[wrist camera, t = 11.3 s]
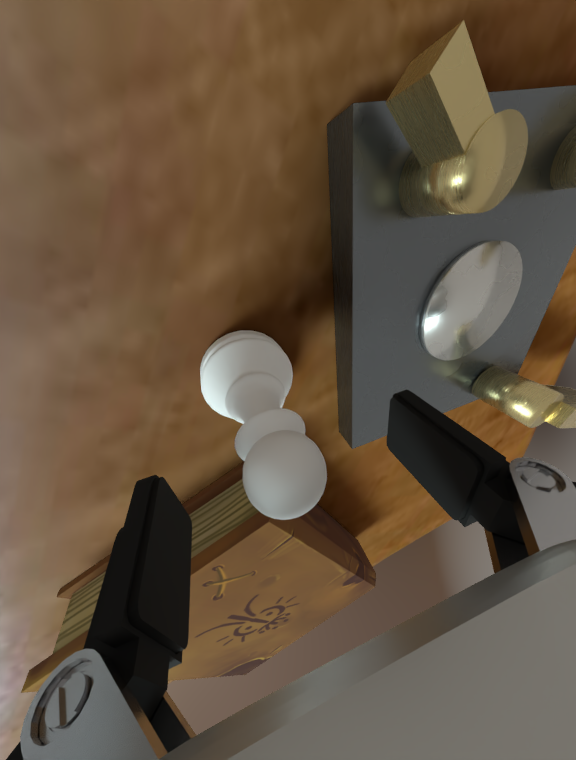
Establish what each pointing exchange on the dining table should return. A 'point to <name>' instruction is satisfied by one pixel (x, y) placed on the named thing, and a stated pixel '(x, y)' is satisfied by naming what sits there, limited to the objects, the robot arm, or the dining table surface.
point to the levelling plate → (444, 232)
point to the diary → (239, 584)
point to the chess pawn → (264, 423)
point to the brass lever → (526, 398)
